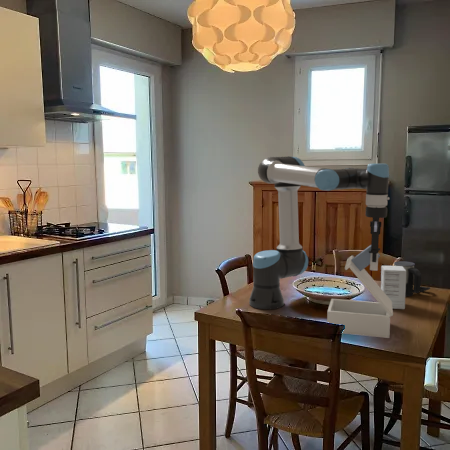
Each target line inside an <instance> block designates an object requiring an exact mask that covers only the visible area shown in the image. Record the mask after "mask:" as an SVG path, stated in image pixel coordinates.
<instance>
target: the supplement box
mask: <svg viewBox="0 0 450 450" xmlns="http://www.w3.org/2000/svg"><path fill="white" fill-rule="evenodd" d="M380 270H381V271H380V273H381V274H380V288H381V289H382V290H383V292H384V293H385V294H386V295H387V296H388V297H389V299H390V300H391V301H392V309H395V310H396V309H397V310H405V308H406V296H405V291H406V270H405V269H404V267H403V266H394V265H381V266H380Z"/></svg>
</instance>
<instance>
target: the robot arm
mask: <svg viewBox="0 0 450 450" xmlns="http://www.w3.org/2000/svg"><path fill="white" fill-rule="evenodd" d="M257 174H258V177H259V179H260V180H261V181H262V182H264V183H266V184H268V185H269V184H270V185H271V184H272V185H274V189H276V190H277V192H278V193H277V196H278V199H277V200H278V224H279V225H278V227H279V228H278V229H279V230H278V231H279V244H278V245H277V246H276V250H275V249H269V250H268V249H267V250H262V251H259V252H256V253H255V254H254V256H253V260H252V261H253V262H252V268H253V273H252V276H253V280H252V281H253V283H252V284H253V285H252V286H253V287H252V290H251V293H250V295H249V305H250V306H251V307H252V308H255V309H260V310H275V309H280V308H282V307H283V306H284V304H285V303H284V302H285V301H284V297H283V293H282V290H281V283H280V282H281V279H282V280H283V279H286V278H291V277H298V276H299V275H302V274H304V273H305V272H306V271H307V269H308V266H309V257H308V254H307V253H306V251H304V250H303V246H302V244H300V239H299V236H300V235H299V233H300V232H299V203H298V202H299V201H298V198H299V197H298V190H299V189H300V188H301V186H304V187H311V188H317V189H318V190H321V191H327V192H329V191H336V190H337V191H338V190H350V189H351V190H352V189H360V190H362V189H363V190H366V194H365V205H366V207H365V216H366V218H372V220H371V221H370V222H369V227H370V233H369V234H370V235H371V244H370V245H371V251H369V253H371V255H370V264H369V270H370V271H378V270H379V268H378V266H379V258H378V253H379V251H381V248H379V240H380V235H381V228H382V221H380V219H381V218H382V219H384V218H387V216H388V207H387V206H388V201H389V200H390V197H389V182H390V181H389V179H390V167H389V165H388V164H387V163H368V164H367V167H366V168H359V167H358V168H357V167H356V168H355V167H348V168H347V167H345V168H338V169H337V168H325V167H316V166H306V165H305V163H304V162H303V161H302V159H301V158H299V157H297V156H269V157H266V158H264V159H262V161H260V163H259V164H258V167H257Z"/></svg>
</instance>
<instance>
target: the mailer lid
mask: <svg viewBox="0 0 450 450" xmlns="http://www.w3.org/2000/svg"><path fill="white" fill-rule="evenodd" d="M369 251H371V244H370V245H369V246H367V247H366V248H365V249H363V250H362V251H361V252H359V253H358V254H357V255H356V256H354V255H351V256H349V257H347V260H346V262H345V266H344V270H345V271H347V270H348V269H350V270H351V272H352V273H353V274H354V276H356V277H357V278H358V280H359V281H360V282H361V283H362V285H363V286H364V287H365V288H366V289H367V290H368V292H369V293H370V294H371V295H372V297H373V298H374V299H375V300H376V302H379V303H380V304H381V306H382V307H383V308H384V309H385V310H386V312H387V313H388V314H389V315H390V317H393V315H394V310H393V308H392V301H391V300H390V299H389V297H388V296H387V295H386V294H385V293H384V292H383V290H382V289H381V286H379V284H378V283H377V282H376V281H375V280H374V278H373V277H372V276H371V275H370V274H369V273H368V271H367V270H366V269H365V268H367V267H368V266H370V255H371V253H369ZM379 258H381V254H380V253H379V252H378V259H379Z"/></svg>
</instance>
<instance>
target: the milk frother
mask: <svg viewBox="0 0 450 450" xmlns="http://www.w3.org/2000/svg"><path fill="white" fill-rule="evenodd" d="M393 266H403V267H404V269H405V270H406V291H405V297H412V296H414V294H418V293H423V292H426V291H429V290H430V289H431V287H430V286H421V285H422V273H421V271H420V270H419V269H417V268H416V267H415V263H414V262H412V261H400V260H399V261H395V262H393Z"/></svg>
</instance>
